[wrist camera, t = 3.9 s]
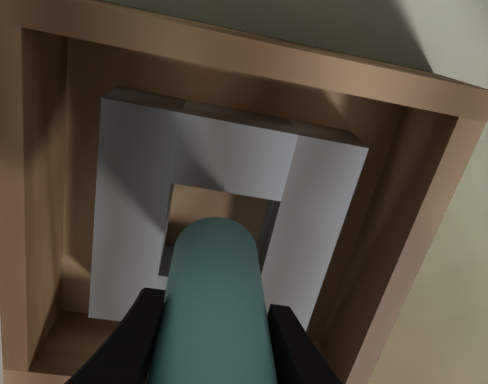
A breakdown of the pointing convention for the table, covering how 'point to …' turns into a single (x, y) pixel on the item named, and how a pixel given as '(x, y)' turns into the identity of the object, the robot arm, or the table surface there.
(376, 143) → the box
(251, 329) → the peg
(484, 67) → the table surface
